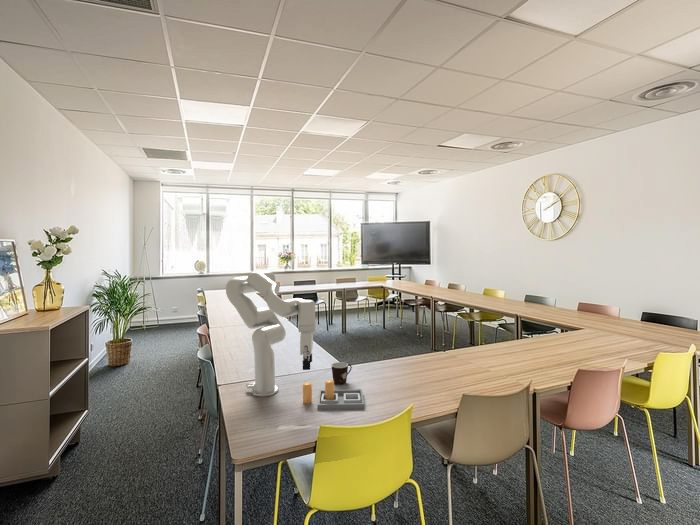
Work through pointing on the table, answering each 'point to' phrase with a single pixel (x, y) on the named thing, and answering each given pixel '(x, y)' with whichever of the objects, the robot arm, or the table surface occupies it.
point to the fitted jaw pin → (329, 390)
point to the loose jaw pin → (307, 393)
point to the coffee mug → (340, 372)
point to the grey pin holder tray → (341, 400)
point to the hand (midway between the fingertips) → (307, 365)
